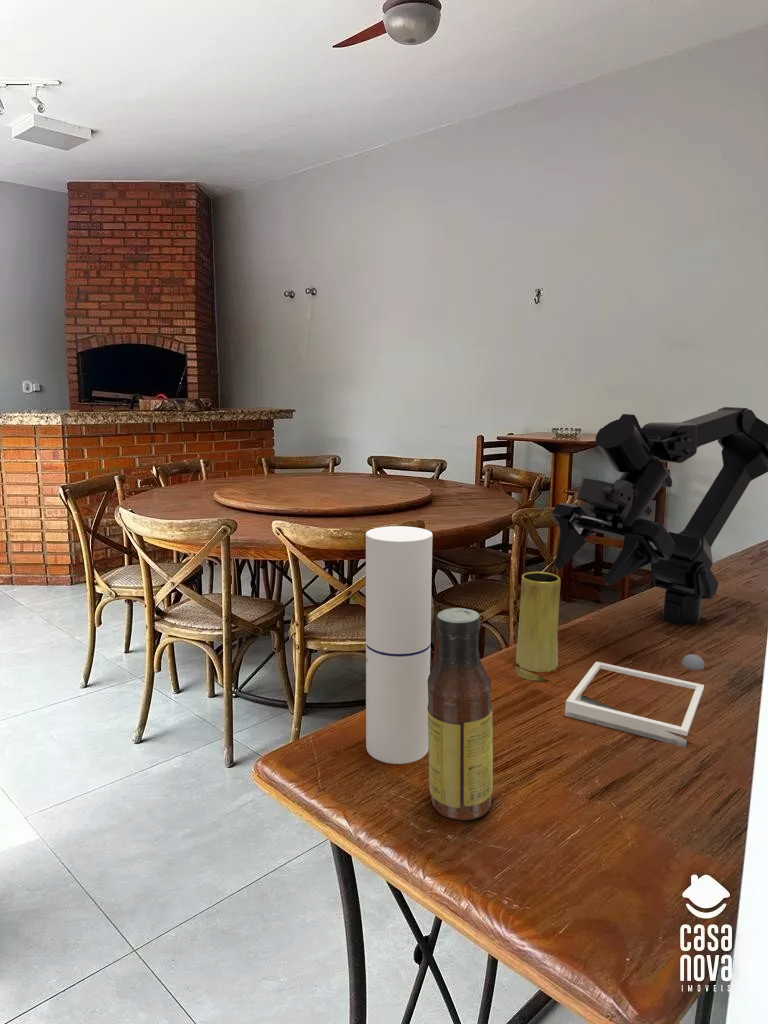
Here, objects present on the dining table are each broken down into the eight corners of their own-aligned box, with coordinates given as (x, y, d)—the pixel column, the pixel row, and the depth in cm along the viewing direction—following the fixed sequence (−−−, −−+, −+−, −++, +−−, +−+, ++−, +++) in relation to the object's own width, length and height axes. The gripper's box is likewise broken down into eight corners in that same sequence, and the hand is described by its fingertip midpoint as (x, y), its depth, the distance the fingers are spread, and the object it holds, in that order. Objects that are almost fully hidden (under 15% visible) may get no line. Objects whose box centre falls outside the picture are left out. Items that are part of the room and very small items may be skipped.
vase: (549, 686, 94) (555, 586, 91) (507, 675, 97) (511, 578, 94) (563, 670, 99) (569, 574, 96) (523, 660, 102) (527, 568, 99)
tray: (595, 674, 97) (596, 661, 97) (702, 699, 90) (704, 685, 90) (565, 715, 85) (565, 700, 85) (685, 747, 78) (687, 731, 78)
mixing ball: (687, 668, 99) (689, 649, 99) (707, 675, 97) (709, 655, 96) (676, 674, 97) (678, 654, 97) (696, 681, 95) (698, 661, 95)
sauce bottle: (490, 787, 71) (497, 604, 67) (493, 826, 65) (501, 627, 61) (426, 783, 71) (429, 601, 67) (424, 822, 65) (427, 624, 61)
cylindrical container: (384, 770, 74) (384, 544, 69) (355, 739, 80) (354, 530, 75) (440, 753, 77) (445, 537, 72) (409, 725, 83) (411, 523, 78)
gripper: (561, 451, 106) (507, 531, 103) (668, 464, 91) (609, 559, 87) (593, 495, 112) (543, 571, 109) (698, 514, 97) (644, 604, 93)
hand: (580, 575), depth 99 cm, fingers open, 9 cm apart
